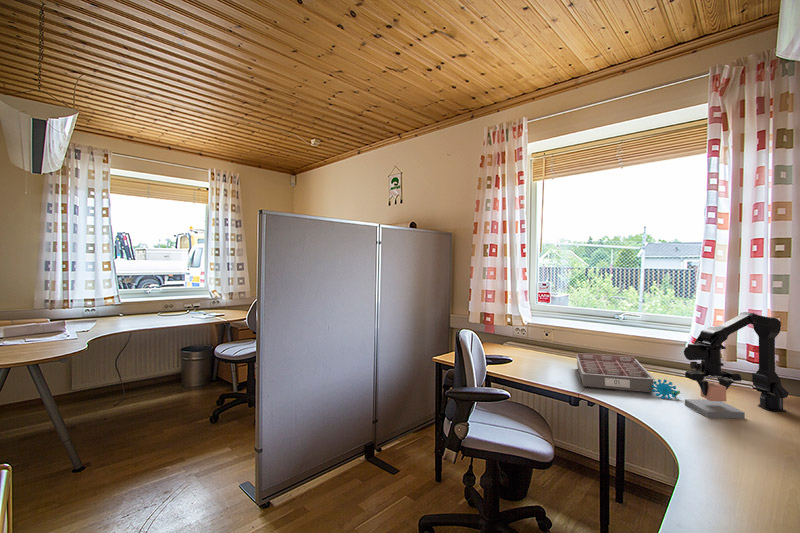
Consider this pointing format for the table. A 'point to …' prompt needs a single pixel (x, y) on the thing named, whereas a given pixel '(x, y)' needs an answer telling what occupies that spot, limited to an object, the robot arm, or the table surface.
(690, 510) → the table surface
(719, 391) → the salmon pink cube
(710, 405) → the plinth
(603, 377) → the organizer tray
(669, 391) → the blue spiky toy
